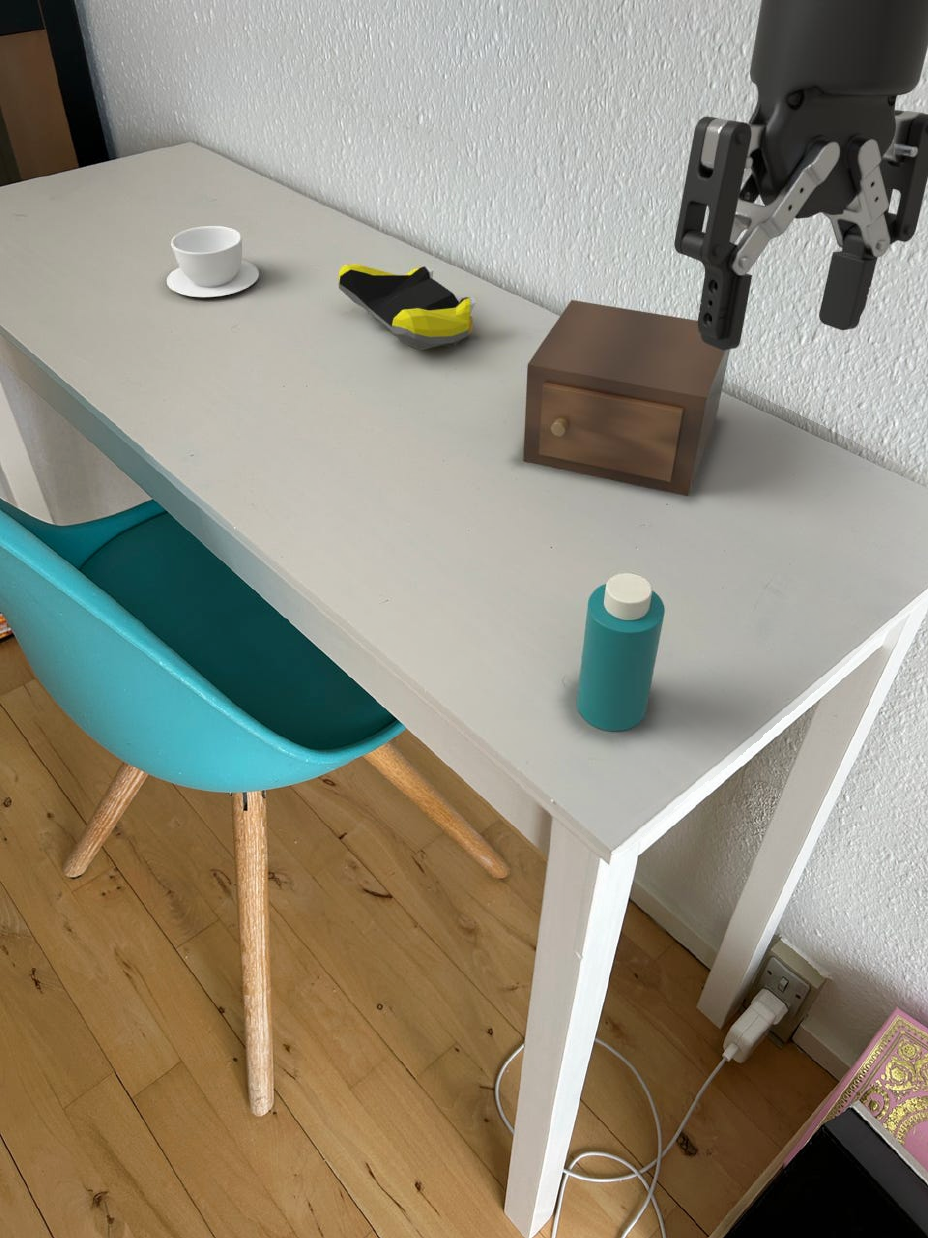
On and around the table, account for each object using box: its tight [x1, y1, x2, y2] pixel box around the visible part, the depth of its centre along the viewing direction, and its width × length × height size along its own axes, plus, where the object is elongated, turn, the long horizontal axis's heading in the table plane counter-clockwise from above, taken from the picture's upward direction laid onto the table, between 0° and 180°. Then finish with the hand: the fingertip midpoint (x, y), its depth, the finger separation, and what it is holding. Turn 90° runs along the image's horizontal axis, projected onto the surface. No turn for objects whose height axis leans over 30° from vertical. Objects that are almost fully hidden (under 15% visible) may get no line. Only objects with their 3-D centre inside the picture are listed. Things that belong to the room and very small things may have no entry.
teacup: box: [166, 225, 260, 298], centre depth 106 cm, size 10×10×5 cm
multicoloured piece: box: [337, 263, 476, 350], centre depth 97 cm, size 15×6×10 cm
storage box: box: [522, 299, 731, 497], centre depth 81 cm, size 14×13×9 cm
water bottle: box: [576, 572, 666, 732], centre depth 59 cm, size 4×4×10 cm
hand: (780, 335), depth 52 cm, fingers open, 8 cm apart
